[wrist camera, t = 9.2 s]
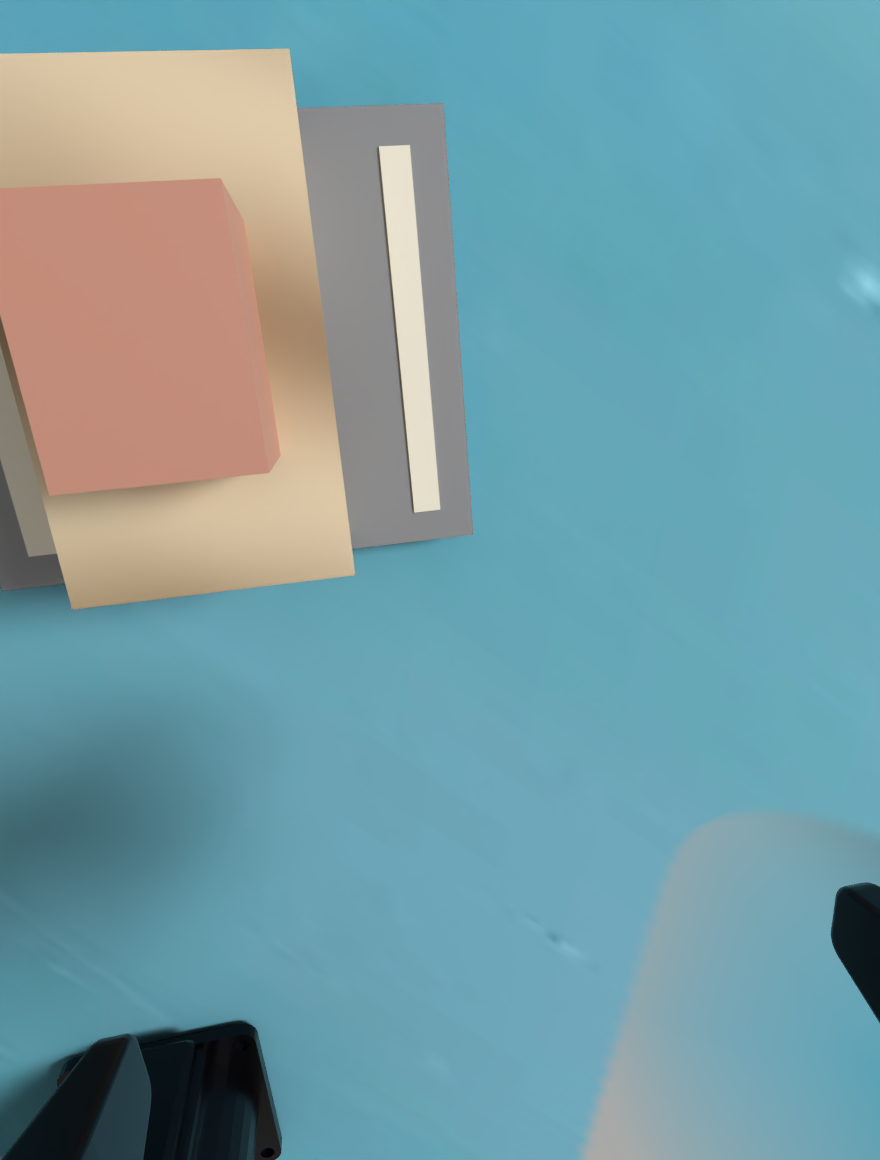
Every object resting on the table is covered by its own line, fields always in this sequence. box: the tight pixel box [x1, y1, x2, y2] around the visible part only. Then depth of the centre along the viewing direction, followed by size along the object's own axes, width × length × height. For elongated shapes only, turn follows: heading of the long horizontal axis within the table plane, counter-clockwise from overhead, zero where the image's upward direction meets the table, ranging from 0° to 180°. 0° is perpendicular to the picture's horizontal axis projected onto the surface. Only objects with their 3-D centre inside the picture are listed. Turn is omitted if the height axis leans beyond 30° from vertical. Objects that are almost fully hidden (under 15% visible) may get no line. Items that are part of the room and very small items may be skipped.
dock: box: [0, 103, 473, 591], centre depth 16 cm, size 10×12×1 cm
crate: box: [0, 178, 281, 496], centre depth 10 cm, size 4×3×2 cm
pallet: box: [0, 49, 355, 610], centre depth 13 cm, size 9×6×4 cm, turn 4°
